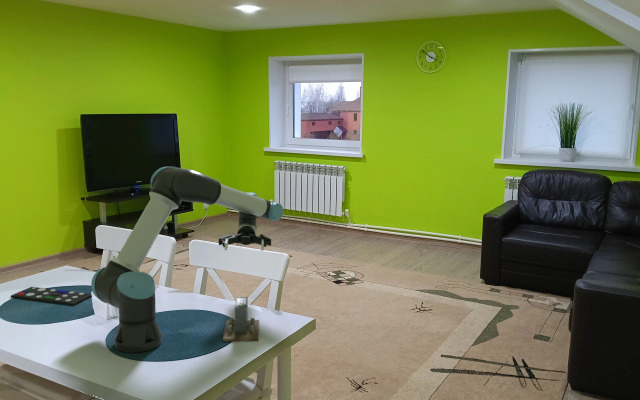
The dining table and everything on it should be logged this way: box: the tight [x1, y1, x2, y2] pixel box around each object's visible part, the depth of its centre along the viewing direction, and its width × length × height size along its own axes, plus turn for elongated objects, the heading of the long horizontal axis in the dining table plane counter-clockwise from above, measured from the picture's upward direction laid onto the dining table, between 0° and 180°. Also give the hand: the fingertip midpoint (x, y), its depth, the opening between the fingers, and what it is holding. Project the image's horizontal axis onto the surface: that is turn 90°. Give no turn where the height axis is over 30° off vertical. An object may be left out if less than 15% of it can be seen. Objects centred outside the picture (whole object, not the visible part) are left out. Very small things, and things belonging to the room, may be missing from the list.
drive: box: [234, 296, 249, 335], centre depth 196 cm, size 4×10×10 cm, turn 5°
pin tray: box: [222, 317, 260, 342], centre depth 197 cm, size 12×16×4 cm
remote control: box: [10, 286, 92, 307], centre depth 227 cm, size 11×30×2 cm, turn 75°
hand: (244, 246), depth 207 cm, fingers open, 13 cm apart
